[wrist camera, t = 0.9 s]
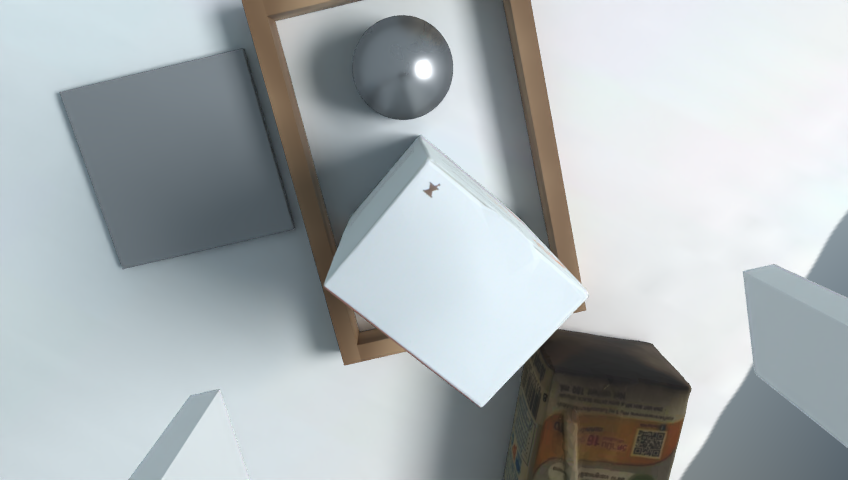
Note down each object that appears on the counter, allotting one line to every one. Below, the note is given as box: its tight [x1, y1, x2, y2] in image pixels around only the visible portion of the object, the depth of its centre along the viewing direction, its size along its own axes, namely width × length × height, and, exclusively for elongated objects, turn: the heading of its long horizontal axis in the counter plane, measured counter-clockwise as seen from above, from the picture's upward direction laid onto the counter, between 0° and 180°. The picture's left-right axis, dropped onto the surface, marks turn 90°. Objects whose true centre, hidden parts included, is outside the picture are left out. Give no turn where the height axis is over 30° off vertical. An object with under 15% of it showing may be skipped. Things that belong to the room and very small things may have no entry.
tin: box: [352, 15, 453, 120], centre depth 32 cm, size 5×5×3 cm
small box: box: [324, 135, 589, 408], centre depth 29 cm, size 8×6×13 cm
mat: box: [60, 49, 295, 269], centre depth 34 cm, size 10×10×1 cm
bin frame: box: [242, 0, 586, 365], centre depth 33 cm, size 14×20×2 cm
